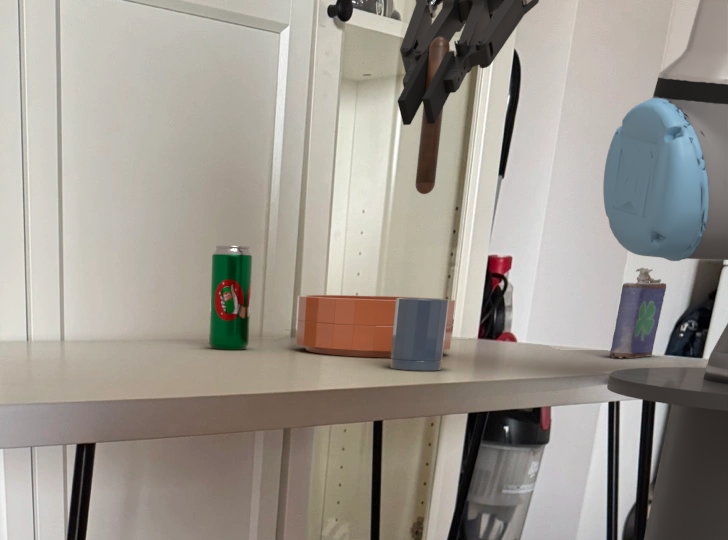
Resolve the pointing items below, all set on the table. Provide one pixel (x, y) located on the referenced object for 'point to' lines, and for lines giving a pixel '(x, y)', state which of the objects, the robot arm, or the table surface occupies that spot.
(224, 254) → the soda can
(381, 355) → the bowl
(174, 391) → the table surface
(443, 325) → the crock
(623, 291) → the flask
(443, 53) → the stirring stick
